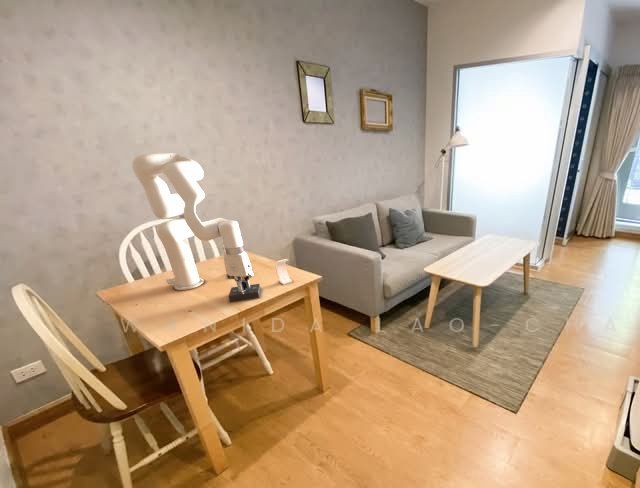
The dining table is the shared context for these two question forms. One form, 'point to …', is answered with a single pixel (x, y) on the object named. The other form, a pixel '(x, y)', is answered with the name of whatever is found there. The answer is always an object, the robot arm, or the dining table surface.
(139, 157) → the robot arm
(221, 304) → the dining table surface
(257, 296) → the device
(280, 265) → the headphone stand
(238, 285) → the grey rectangular block
